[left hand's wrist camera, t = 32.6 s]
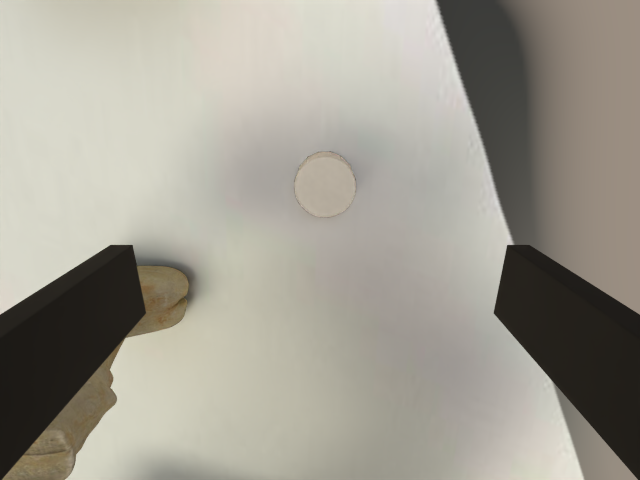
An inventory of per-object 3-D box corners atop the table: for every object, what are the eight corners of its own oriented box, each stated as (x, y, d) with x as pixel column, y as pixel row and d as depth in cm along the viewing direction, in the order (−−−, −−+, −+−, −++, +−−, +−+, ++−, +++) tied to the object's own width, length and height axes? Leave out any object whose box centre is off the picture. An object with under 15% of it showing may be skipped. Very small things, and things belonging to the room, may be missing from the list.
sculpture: (190, 320, 30) (71, 516, 16) (104, 304, 29) (-99, 491, 15) (197, 261, 27) (65, 425, 13) (104, 241, 27) (-133, 392, 13)
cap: (340, 215, 26) (342, 226, 24) (289, 196, 26) (285, 205, 23) (362, 163, 25) (366, 170, 22) (308, 142, 24) (306, 146, 22)
